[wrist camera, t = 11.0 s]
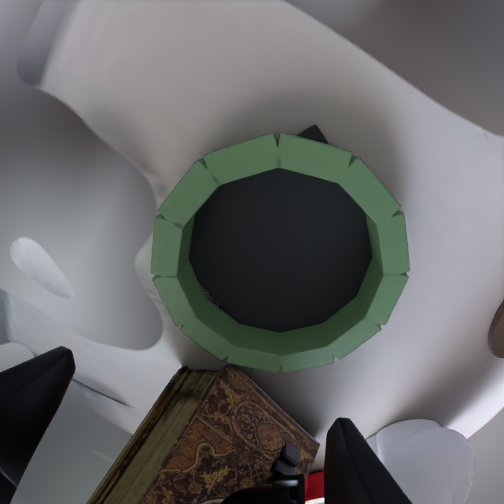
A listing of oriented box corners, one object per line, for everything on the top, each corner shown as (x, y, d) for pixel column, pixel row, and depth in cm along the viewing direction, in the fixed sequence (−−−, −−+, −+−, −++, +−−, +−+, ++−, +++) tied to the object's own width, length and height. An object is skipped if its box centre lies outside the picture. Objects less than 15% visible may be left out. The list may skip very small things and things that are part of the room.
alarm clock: (355, 510, 30) (259, 529, 27) (344, 480, 36) (253, 494, 33) (388, 487, 26) (276, 513, 23) (373, 452, 32) (267, 470, 29)
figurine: (417, 393, 23) (457, 529, 9) (472, 407, 24) (510, 506, 10) (347, 450, 27) (356, 564, 14) (410, 457, 28) (427, 548, 15)
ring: (246, 373, 22) (243, 396, 20) (121, 220, 18) (102, 234, 16) (423, 290, 18) (437, 310, 16) (325, 85, 14) (332, 78, 11)
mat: (261, 347, 21) (261, 352, 21) (162, 228, 18) (159, 231, 18) (398, 275, 18) (401, 279, 18) (314, 124, 15) (316, 124, 15)
